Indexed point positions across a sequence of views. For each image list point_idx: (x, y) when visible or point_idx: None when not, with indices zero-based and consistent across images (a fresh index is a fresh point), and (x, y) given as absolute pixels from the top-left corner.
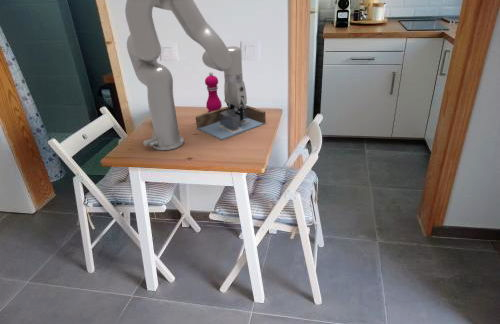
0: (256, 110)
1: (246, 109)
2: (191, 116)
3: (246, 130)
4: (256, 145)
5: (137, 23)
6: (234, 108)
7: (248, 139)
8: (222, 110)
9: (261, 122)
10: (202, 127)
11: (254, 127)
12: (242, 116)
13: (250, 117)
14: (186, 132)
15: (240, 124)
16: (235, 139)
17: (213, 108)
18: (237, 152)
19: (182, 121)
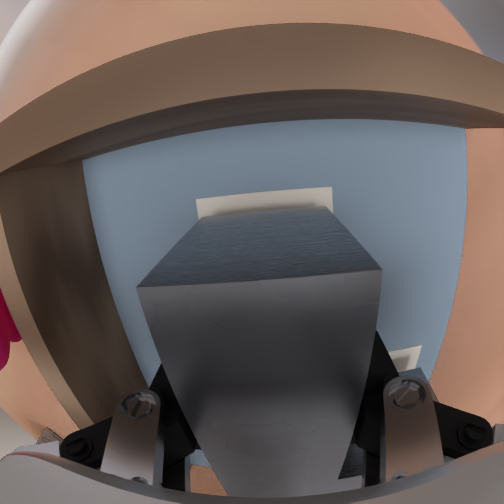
0: (466, 105)
1: (365, 261)
2: (21, 378)
3: (444, 320)
4: None
5: None
6: (217, 433)
7: (496, 357)
8: (90, 405)
9: (449, 125)
10: (191, 456)
11: (459, 238)
12: (383, 345)
13: (273, 120)
14: (194, 480)
15: (427, 381)
16: (445, 404)
17: (5, 358)
18: (493, 417)
19: (67, 427)
